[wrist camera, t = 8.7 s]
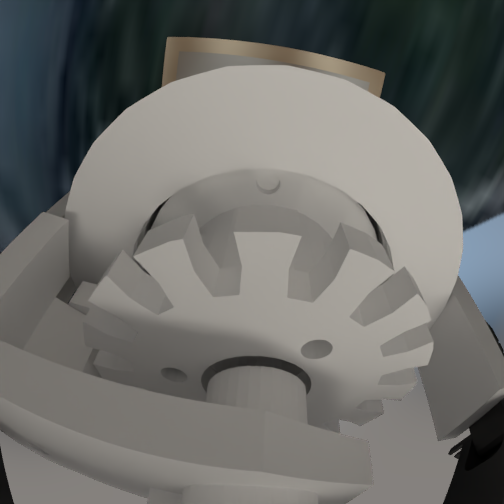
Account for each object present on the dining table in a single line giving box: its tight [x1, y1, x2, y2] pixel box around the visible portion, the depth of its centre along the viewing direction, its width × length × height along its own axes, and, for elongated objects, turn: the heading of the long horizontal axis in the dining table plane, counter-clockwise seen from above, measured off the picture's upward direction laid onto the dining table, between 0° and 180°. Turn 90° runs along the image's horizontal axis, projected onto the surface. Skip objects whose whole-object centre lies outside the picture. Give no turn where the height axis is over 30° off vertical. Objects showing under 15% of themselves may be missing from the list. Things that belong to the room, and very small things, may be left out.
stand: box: [162, 37, 385, 98], centre depth 21 cm, size 14×14×3 cm
